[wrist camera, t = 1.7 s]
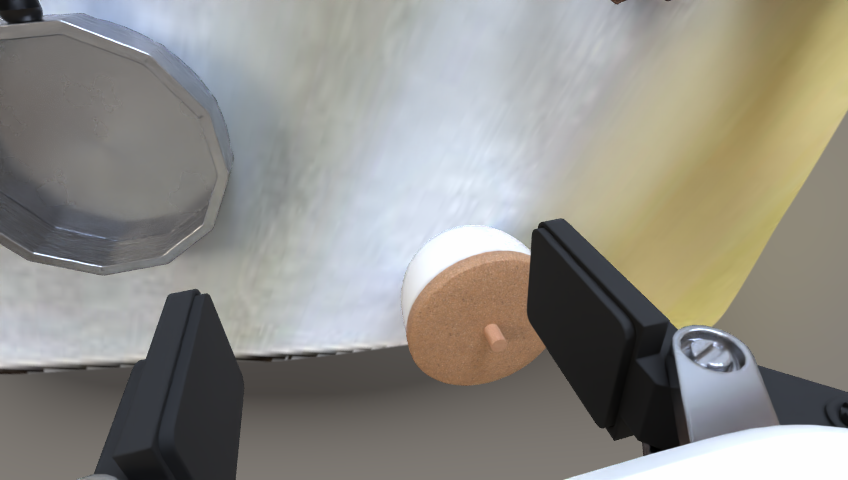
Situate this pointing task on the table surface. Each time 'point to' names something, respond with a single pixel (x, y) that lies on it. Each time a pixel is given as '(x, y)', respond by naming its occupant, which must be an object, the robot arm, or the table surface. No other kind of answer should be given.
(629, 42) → the table surface
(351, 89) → the table surface
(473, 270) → the trinket box
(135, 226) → the frying pan
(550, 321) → the robot arm
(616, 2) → the brown curved open frame
